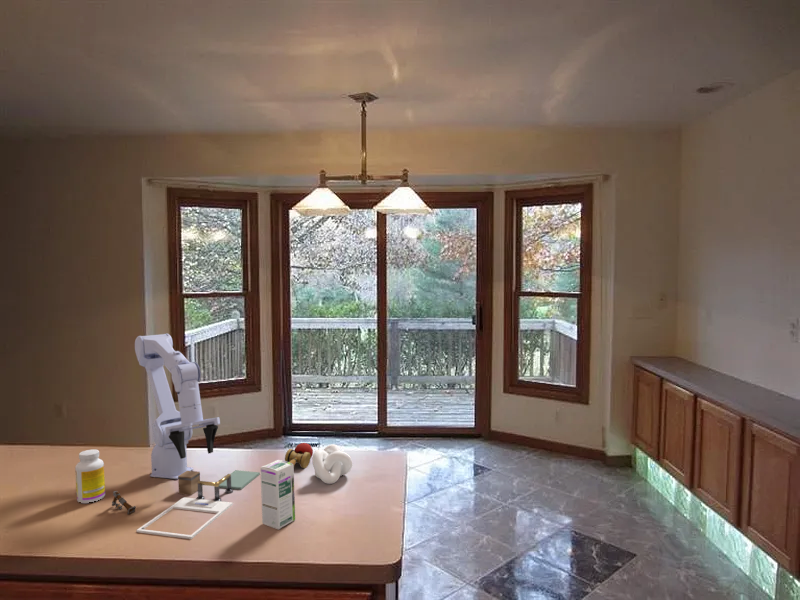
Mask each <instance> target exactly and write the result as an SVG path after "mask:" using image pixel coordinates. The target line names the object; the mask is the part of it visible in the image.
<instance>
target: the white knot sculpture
mask: <svg viewBox="0 0 800 600" xmlns="http://www.w3.org/2000/svg"><path fill="white" fill-rule="evenodd" d="M311 458H312V459H311V460H312V466H313V470H314V475H315V476H316V477H317V478H318V479H320V480H321V481H322V482H323V483H325V484H327V485H331V484H335V483H336V482H338V480H340V479H339V478H340V477H342V475H343V476H345V475H347V474H349V473H350V472H351V469H352V468H353V460H352V457H351V456H350V455H349V454H348V453H346V452H345V451H341V448H340V447H339V446H338V445H337V444H333V443H331V444H329V445H328V446H326V447H324V449H320V448H319V449H317V450H315V451H313V455H312V457H311Z"/></svg>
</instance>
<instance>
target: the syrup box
mask: <svg viewBox="0 0 800 600" xmlns="http://www.w3.org/2000/svg"><path fill="white" fill-rule="evenodd" d="M259 468H260V471H259V472H260V494H261V518H262V519H261V520H262V521H261V523H262V524H263V525H264V526H267V527H269V528H273V529H276V530H281V529H282V528H283V527H285V526H287V525H289V524H290V523H292V522H294V521H295V520H296V503H295V500H296V499H295V473H294V472H295V471H294V468H295V465H293V463H290V462H287V461H285V460H282V459H276V460H274V461H272V462H270V463H268V464H265V465H262V466H260V467H259Z"/></svg>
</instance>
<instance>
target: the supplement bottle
mask: <svg viewBox="0 0 800 600" xmlns="http://www.w3.org/2000/svg"><path fill="white" fill-rule="evenodd" d="M78 459H79V462H77V464H76V465H75V467H74V468H75V489H76V501H77V502H78V503H79V502H81V503H80V504H90V503H89V502H93V503H95V502H94V501H96V502H98V500H99V501H100V499H101V500H102V499H103V498H105V496H106V483H105V482H106V480H105V463H104V461H103V459H101V458H100V451H99V450H98V449H87V450H82V451H81V452H79V454H78Z"/></svg>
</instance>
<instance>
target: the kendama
mask: <svg viewBox="0 0 800 600" xmlns="http://www.w3.org/2000/svg"><path fill="white" fill-rule="evenodd" d="M313 454H314V450H313V447H312V446H311V444H309V443H307V442H302V443H301V442H300V443H299V444H297V445H296V446H295V448H294V449H293V448H289V449H288V450H287V451H286V452H285V456H284V461H287V462H290V463H293V465H294V466H295V465H296V463H298V465H300V467H301V468H302V469H306V468H308V467H309V465H310V462H311V460H312V459H311V458H312V457H313Z"/></svg>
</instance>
